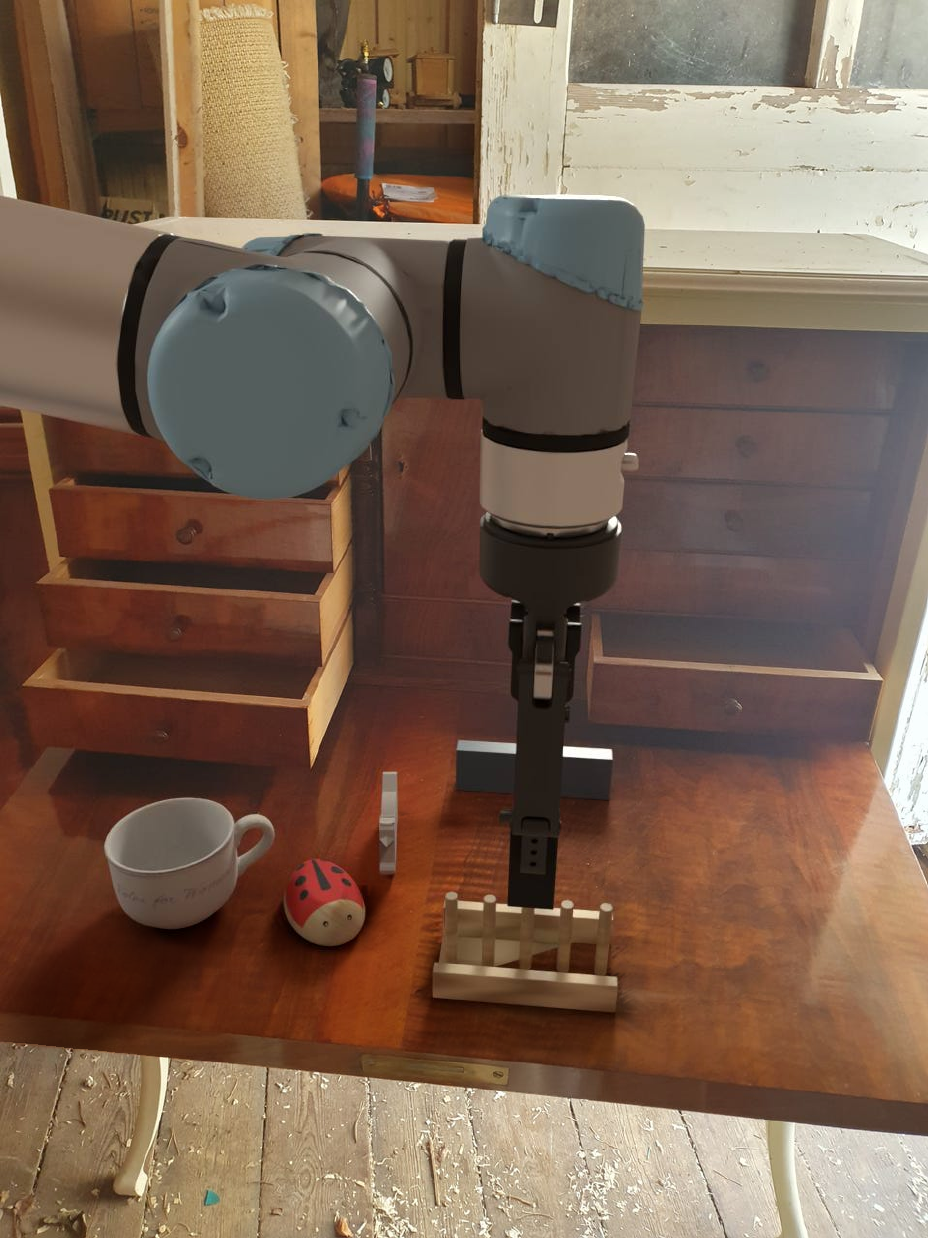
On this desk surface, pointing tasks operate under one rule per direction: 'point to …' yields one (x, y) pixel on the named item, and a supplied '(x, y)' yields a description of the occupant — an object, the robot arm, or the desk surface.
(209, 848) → the teacup
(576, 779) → the back rail
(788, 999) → the desk surface
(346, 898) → the ladybug figurine
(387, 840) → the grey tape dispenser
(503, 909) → the rack
